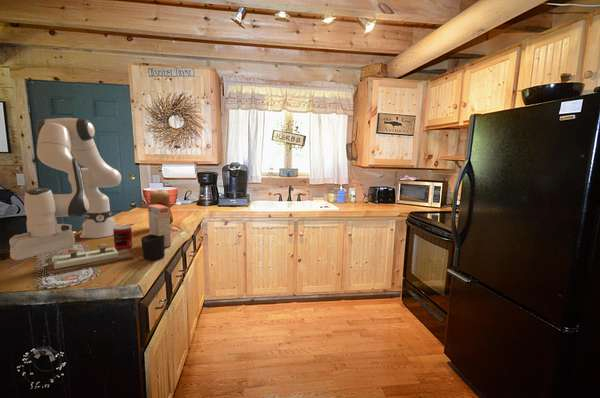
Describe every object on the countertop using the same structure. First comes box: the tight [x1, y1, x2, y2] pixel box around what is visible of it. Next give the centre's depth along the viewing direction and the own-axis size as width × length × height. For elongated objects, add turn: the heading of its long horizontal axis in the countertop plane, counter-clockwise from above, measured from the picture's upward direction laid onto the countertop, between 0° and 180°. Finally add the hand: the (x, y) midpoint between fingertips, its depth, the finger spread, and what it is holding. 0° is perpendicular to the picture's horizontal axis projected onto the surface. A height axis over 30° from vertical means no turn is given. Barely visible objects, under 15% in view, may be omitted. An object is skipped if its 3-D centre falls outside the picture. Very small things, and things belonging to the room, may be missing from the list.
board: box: [46, 243, 134, 276], centre depth 120 cm, size 14×29×7 cm, turn 132°
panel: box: [52, 246, 118, 269], centre depth 119 cm, size 10×22×4 cm, turn 132°
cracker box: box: [147, 204, 172, 248], centre depth 145 cm, size 14×6×21 cm, turn 47°
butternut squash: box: [149, 189, 174, 225], centre depth 177 cm, size 14×13×25 cm
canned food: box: [113, 224, 133, 250], centre depth 139 cm, size 8×8×11 cm
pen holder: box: [140, 234, 166, 262], centre depth 127 cm, size 9×9×10 cm
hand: (46, 262), depth 111 cm, fingers closed
